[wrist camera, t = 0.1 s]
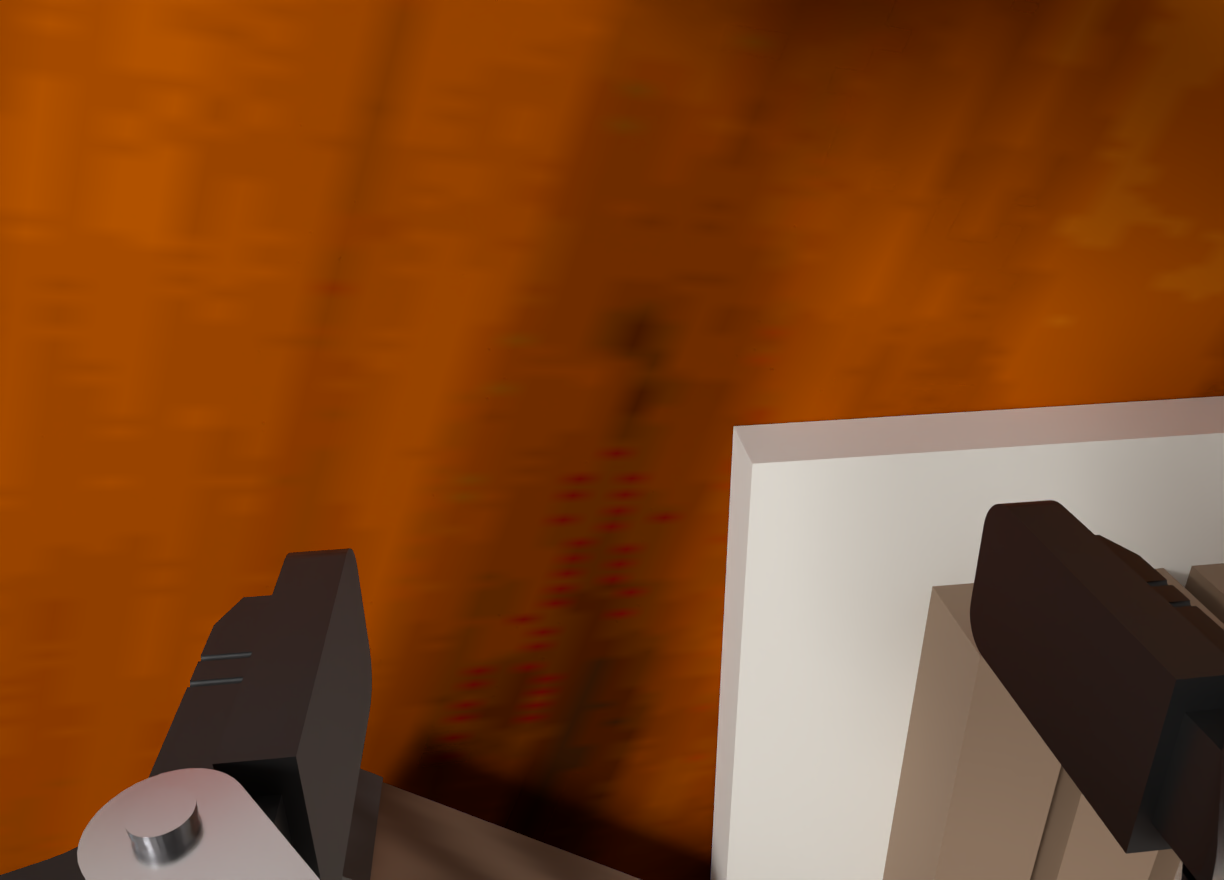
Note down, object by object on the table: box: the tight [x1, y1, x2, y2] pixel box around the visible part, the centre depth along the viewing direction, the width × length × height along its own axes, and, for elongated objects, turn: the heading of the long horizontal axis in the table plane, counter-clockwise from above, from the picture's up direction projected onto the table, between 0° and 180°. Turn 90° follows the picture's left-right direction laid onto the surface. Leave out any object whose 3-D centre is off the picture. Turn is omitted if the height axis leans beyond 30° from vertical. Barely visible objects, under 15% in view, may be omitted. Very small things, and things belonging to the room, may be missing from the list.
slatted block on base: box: [710, 396, 1224, 880], centre depth 35 cm, size 26×19×6 cm
